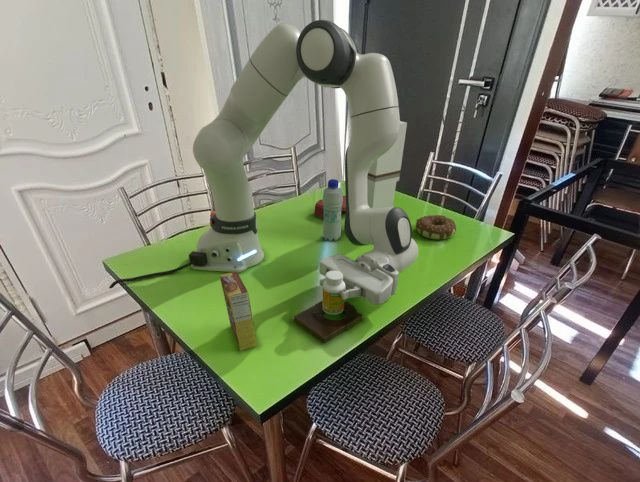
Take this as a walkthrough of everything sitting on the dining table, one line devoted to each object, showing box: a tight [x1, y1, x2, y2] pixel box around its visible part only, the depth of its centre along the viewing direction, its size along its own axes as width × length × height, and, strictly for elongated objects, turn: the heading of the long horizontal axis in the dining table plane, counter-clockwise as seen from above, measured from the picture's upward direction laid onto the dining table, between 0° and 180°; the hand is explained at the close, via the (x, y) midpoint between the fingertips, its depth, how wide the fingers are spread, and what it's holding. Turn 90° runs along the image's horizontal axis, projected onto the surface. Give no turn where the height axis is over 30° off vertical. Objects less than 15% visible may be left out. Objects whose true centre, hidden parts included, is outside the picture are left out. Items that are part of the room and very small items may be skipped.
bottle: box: [321, 178, 344, 242], centre depth 121 cm, size 7×7×20 cm
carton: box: [313, 194, 346, 220], centre depth 147 cm, size 12×5×25 cm
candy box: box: [219, 272, 258, 352], centre depth 80 cm, size 9×4×15 cm, turn 24°
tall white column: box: [367, 120, 408, 208], centre depth 122 cm, size 11×11×35 cm
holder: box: [293, 300, 364, 345], centre depth 90 cm, size 14×11×2 cm
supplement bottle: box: [321, 271, 346, 316], centre depth 87 cm, size 5×5×10 cm
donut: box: [415, 214, 457, 241], centre depth 129 cm, size 14×14×5 cm
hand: (331, 289), depth 85 cm, fingers closed on supplement bottle, 5 cm apart
